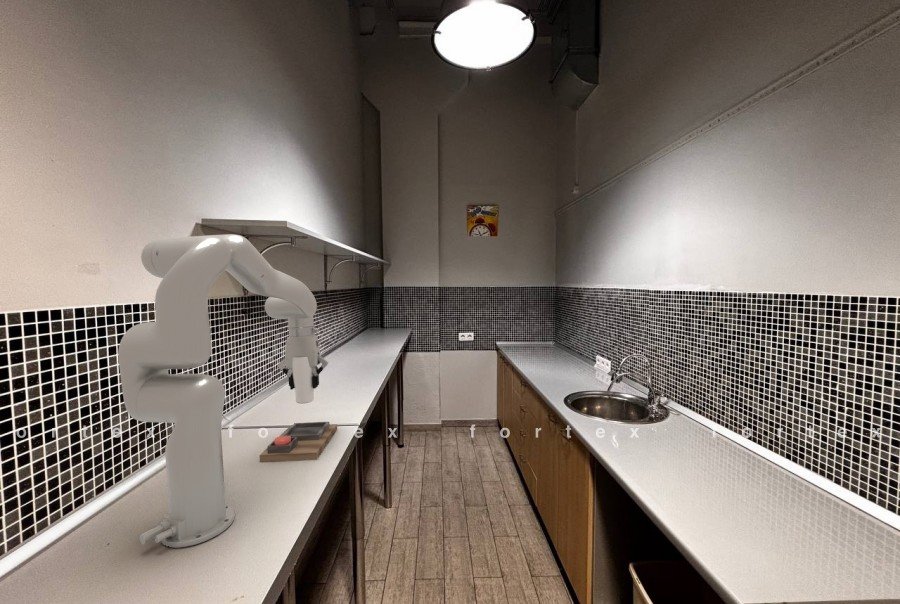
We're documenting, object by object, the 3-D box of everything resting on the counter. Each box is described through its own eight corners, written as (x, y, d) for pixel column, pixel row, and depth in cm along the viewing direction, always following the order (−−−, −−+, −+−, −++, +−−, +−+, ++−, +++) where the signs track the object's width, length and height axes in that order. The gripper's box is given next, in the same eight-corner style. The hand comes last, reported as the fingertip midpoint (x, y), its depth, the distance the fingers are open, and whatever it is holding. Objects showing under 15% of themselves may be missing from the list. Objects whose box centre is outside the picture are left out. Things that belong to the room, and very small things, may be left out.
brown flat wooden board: (317, 459, 107) (316, 445, 106) (259, 462, 106) (258, 448, 106) (337, 430, 128) (336, 418, 128) (289, 432, 128) (289, 420, 128)
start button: (287, 449, 108) (287, 441, 108) (272, 450, 108) (271, 441, 108) (293, 442, 112) (293, 435, 112) (278, 443, 112) (278, 435, 112)
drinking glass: (299, 406, 116) (297, 358, 115) (289, 402, 121) (287, 355, 120) (320, 401, 121) (318, 354, 120) (309, 397, 126) (307, 352, 125)
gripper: (332, 330, 124) (334, 383, 125) (278, 331, 123) (281, 386, 124) (325, 332, 116) (328, 390, 117) (268, 334, 116) (271, 392, 117)
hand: (304, 387), depth 121 cm, fingers closed on drinking glass, 6 cm apart
